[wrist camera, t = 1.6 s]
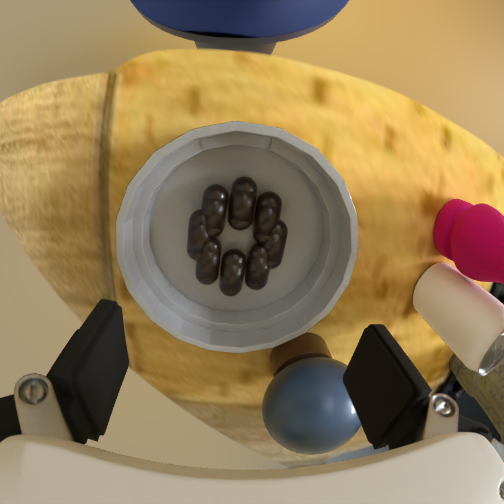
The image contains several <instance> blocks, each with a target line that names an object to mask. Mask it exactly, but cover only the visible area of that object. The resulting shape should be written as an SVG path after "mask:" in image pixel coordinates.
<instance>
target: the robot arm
mask: <svg viewBox="0 0 504 504" xmlns="http://www.w3.org/2000/svg"><path fill="white" fill-rule="evenodd" d="M128 365H129V359H128V353H127V346H126V339H125V332H124V324H123V315H122V308H121V306H118V304H117V302H116V301H112V300H106V299H101V300H100V301H99V303H98V304H97V305H96V307H95V308H94V309H93V311H92V312H91V313H90V315H89V316H88V318H87V319H86V320H85V322H84V323H83V325H82V326H81V327H80V329H78V330H77V331H76V332H75V333H74V334H73V336H72V337H71V339H70V340H69V341H68V343H67V344H66V346H65V348H64V349H63V350H62V352H61V354H60V355H59V356H58V358H57V360H56V361H55V363H54V364H53V366H52V367H51V369H50V371H49V372H48V374H47V375H46V376H44V375H41V374H37V373H33V374H27V375H25V376H23V377H22V378H20V379H19V380H18V381H17V383H16V385H15V387H14V394H13V395H9V396H6V397H3V398H0V504H504V445H503V444H501V443H500V442H498V441H497V440H495V439H494V438H493V440H492V436H491V433H490V430H489V428H488V427H487V426H485V425H483V424H481V423H478V422H476V421H473V420H471V419H468V418H465V417H463V416H461V415H459V411H458V406H457V403H456V402H455V401H454V399H452V398H451V397H450V396H448V395H446V394H442V393H437V394H434V395H433V396H432V397H431V398H429V396H428V395H429V394H430V392H431V391H432V390H431V388H430V387H429V385H428V384H427V383H426V381H425V380H424V378H423V377H422V375H421V374H420V373H419V371H418V370H417V368H416V367H415V366H414V364H413V363H412V362H411V360H410V359H409V357H408V356H407V355H406V353H405V352H404V351H403V349H402V348H401V347H400V345H399V344H398V343H397V341H396V340H395V339H394V337H393V336H392V335H391V334H390V332H389V331H388V330H387V328H386V327H385V326H384V325H382V324H371V325H369V326H368V327H367V328H365V329H364V331H363V333H362V336H361V338H360V340H359V343H358V345H357V347H356V349H355V352H354V354H353V356H352V358H351V360H350V362H349V364H348V366H347V369H346V371H345V373H344V375H343V383H344V386H345V388H346V390H347V392H348V395H349V397H350V399H351V402H352V404H353V406H354V408H355V411H356V413H357V415H358V418H359V420H360V423H361V425H362V427H363V430H364V432H365V434H366V437H367V439H368V441H369V443H371V444H372V445H373V447H374V449H378V448H382V447H385V446H386V445H387V444H388V446H389V450H388V451H386V452H382V453H378V454H374V455H370V456H366V457H361V458H357V459H352V460H347V461H342V462H336V463H330V464H323V465H316V466H308V467H299V468H287V469H270V470H226V469H207V468H197V467H187V466H179V465H172V464H165V463H160V462H154V461H149V460H144V459H138V458H134V457H129V456H125V455H121V454H117V453H113V452H108V451H105V450H102V449H98V448H94V447H91V446H87V445H84V444H85V443H86V442H87V439H91V440H94V441H98V439H99V436H100V435H104V434H105V431H106V428H107V425H108V422H109V419H110V416H111V413H112V410H113V407H114V404H115V402H116V399H117V396H118V393H119V390H120V387H121V385H122V382H123V380H124V377H125V374H126V372H127V369H128Z"/></svg>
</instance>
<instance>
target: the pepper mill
mask: <svg viewBox="0 0 504 504" xmlns="http://www.w3.org/2000/svg"><path fill="white" fill-rule="evenodd" d="M434 242H435V245H436V248H437V250H438V251H439V252H440V253H441V254H442V255H444V256H445V257H447V258H448V259H450V260H452V261H454V263H455V265H456V267H457V269H458V270H459V271H460V272H461V273H462V274H463V275H465V276H467V277H469V278H470V279H473V280H477V281H483V282H499V283H503V284H504V216H503V215H502V214H501V213H500V212H499V211H498V210H497V209H495V208H493V207H491V206H489V205H487V204H476V205H474V206H473V205H472V204H471V203H468V202H465V201H463V200H460V199H454V200H451V201H449V202H448V203H447V204H445V206H444V207H443V208H442V209H441V211H440V213H439V215H438V217H437V220H436V223H435V228H434Z"/></svg>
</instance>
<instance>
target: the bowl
mask: <svg viewBox="0 0 504 504" xmlns="http://www.w3.org/2000/svg"><path fill="white" fill-rule="evenodd" d="M243 176H246V177H250V178H252V179H253V180H254V181H255V183H256V185H257V196H256V202H255V208H254V214H253V220H252V223H251V225H250V226H249V227H248V228H247V229H245V230H242V231H238V230H235V229H233V228H232V227H231V226H230V225H229V223H228V220H227V216H228V209H229V201H230V194H231V187H232V184H233V182H234V181H235V180H236V179H237V178H239V177H243ZM212 184H219V185H222V186H223V187H225V189H226V190H227V192H228V204H227V212H226V219H225V227H224V230H223V232H222V234H221V235H219V236H218V237H216V238H217V239H219V241H220V242H221V246H222V251H221V259H220V268H219V275H218V279H217V280H216V281H215V282H214V283H213V284H211V285H203V284H201V283H200V282H199V281H198V280H197V278H196V275H195V271H196V261H195V260H193V259H191V258H190V257H189V255H188V253H187V238H188V226H189V218H190V216H191V214H192V213H193V212H194V211H196V210H198V209H201V206H202V197H203V192H204V190H205V189H206V188H207V187H208V186H210V185H212ZM267 191H272V192H275V193H277V194H278V195H279V196H280V198H281V200H282V209H281V214H280V220H282V221H284V222H285V224H286V225H287V228H288V235H287V239H286V244H285V249H284V254H283V259H282V262H281V264H280V265H279V266H278V267H277V268H275V269H270V272H269V277H268V281H267V284H266V286H265V287H264V288H262V289H261V290H252V289H250V288H249V287H248V286H247V285H246V283H245V272H246V266H247V260H248V254H249V249H250V247H251V246H252V245H253V244H254V243H257V241H256V240H255V239H254V238H253V235H252V229H253V223H254V216H255V210H256V204H257V200H258V197H259V196H260V195H261V194H262V193H264V192H267ZM229 249H238V250H240V251H242V252H243V253H244V255H245V258H246V264H245V271H244V277H243V283H242V289H241V291H240V292H239V293H238V294H237V295H236V296H232V297H229V296H226V295H224V294H223V293H222V292H221V291H220V288H219V280H220V271H221V263H222V257H223V255H224V253H225V252H226V251H227V250H229ZM357 255H358V216H357V213H356V210H355V207H354V204H353V202H352V199H351V196H350V194H349V191H348V189H347V186H346V184H345V181H344V179H343V178H342V177H341V175H340V174H339V173H338V172H337V171H336V169H335V168H334V167H333V166H332V165H331V164H330V162H329V161H328V160H327V159H326V158H325V157H324V156H323V154H322V153H321V152H320V151H319V150H318V149H317V148H315V147H313V146H312V145H310V144H308V143H307V142H305V141H303V140H301V139H300V138H298V137H296V136H294V135H292V134H290V133H289V132H287V131H285V130H283V129H281V128H278V127H272V126H267V125H261V124H254V123H248V122H241V121H232V122H226V123H221V124H215V125H210V126H205V127H201V128H196V129H192V130H190V131H188V132H186V133H185V134H183V135H181V136H179V137H178V138H176V139H174V140H173V141H171V142H169V143H168V144H166V145H165V146H163V147H161V148H160V149H158V150H157V151H155V152H154V153H153V154H152V155H151V156H150V158H149V159H148V160H147V161H146V162H145V164H144V165H143V166H142V167H141V169H140V170H139V171H138V172H137V174H136V175H135V176H134V178H133V179H132V180H131V182H130V183H129V185H128V186H127V189H126V192H125V195H124V198H123V201H122V204H121V207H120V210H119V213H118V216H117V219H116V258H117V262H118V265H119V268H120V271H121V273H122V276H123V279H124V282H125V284H126V287H127V289H128V292H129V293H130V295H131V296H132V297H133V299H134V300H135V301H136V303H137V304H138V305H139V306H140V308H141V309H142V310H143V312H144V313H145V314H146V315H147V317H148V318H149V319H150V320H151V321H153V322H154V323H155V324H157V325H158V326H159V327H161V328H162V329H164V330H165V331H166V332H168V333H169V334H171V335H172V336H173V337H175V338H177V339H179V340H182V341H184V342H187V343H190V344H192V345H195V346H198V347H201V348H203V349H206V350H212V351H222V352H233V353H244V352H251V351H257V350H263V349H268V348H273V347H276V346H278V345H280V344H283V343H285V342H287V341H289V340H291V339H294V338H296V337H298V336H300V335H302V334H304V333H306V332H307V331H308V330H309V329H310V328H312V327H313V326H314V325H315V324H317V323H318V322H319V321H320V320H321V319H323V318H324V317H325V316H326V315H327V314H328V313H329V312H330V311H331V310H332V308H333V307H334V305H335V304H336V302H337V301H338V300H339V298H340V297H341V295H342V294H343V292H344V291H345V289H346V288H347V286H348V284H349V281H350V278H351V275H352V271H353V268H354V265H355V261H356V258H357Z"/></svg>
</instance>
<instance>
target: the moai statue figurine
mask: <svg viewBox="0 0 504 504" xmlns="http://www.w3.org/2000/svg"><path fill="white" fill-rule="evenodd" d="M449 368H450V370H451V371H452V372H453V373H454V374H455V375H456V379H457V380H458V382H459V383H460V384H461V386H462V387H463V388H464V390H465V391H466V392H467V393H468V395H470V396H472V397H474V398H475V399H476V400H477V402H478V403H479V404H480V406H481V407H482V408H483V410H484V411H485V413H486V414H487V416H488V417H489V418H490V420H491V422H492V423H493V424H494V426H495V427H496V429H497V430H498V432H499V434H500V435H501V441H502V444H503V445H504V358H503V360H502V361H501V362H500V363H499V364H498V365H497V366H496V367H495V368H494V369H493V370H492V371H491V372H489V373H488V374H486V375H484V376H480V375H479V374H478V372H477V371H473V370H470V369H468V368H467V367H466V366H465V365H464V364H463V363H462V361H461V360H460V359H459V358H458V357H457V356H456V354H455V353H454V355H453V356H452V358H451V361H450V364H449Z"/></svg>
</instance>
